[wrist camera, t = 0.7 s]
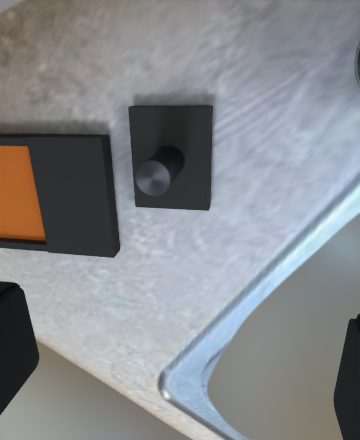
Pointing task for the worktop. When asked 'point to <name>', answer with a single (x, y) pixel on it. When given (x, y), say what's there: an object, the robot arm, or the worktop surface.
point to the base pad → (58, 194)
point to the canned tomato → (358, 64)
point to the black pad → (184, 137)
